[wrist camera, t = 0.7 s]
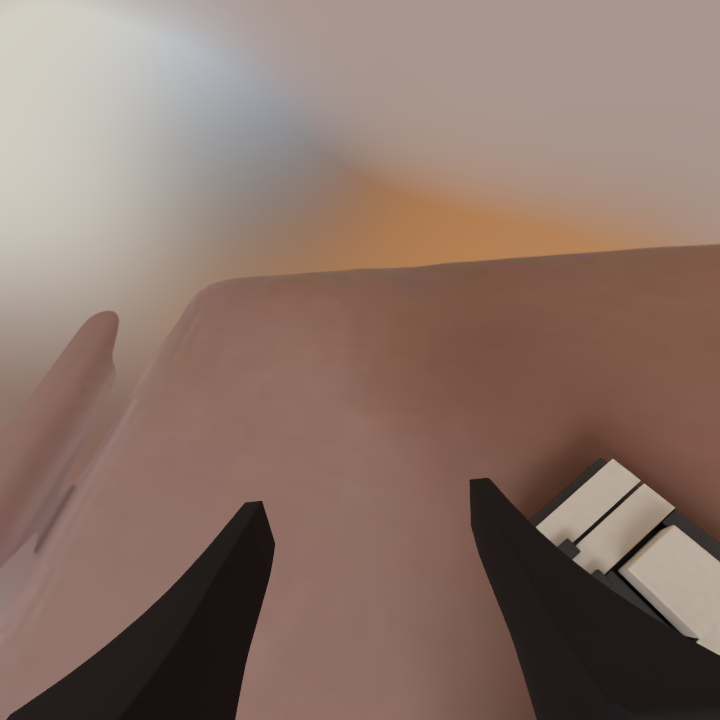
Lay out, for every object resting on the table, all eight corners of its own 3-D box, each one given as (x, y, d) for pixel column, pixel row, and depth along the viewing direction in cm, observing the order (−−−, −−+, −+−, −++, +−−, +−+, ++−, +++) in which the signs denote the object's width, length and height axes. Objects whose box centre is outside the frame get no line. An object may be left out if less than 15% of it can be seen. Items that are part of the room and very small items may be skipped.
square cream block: (660, 529, 21) (674, 523, 20) (731, 589, 19) (753, 588, 17) (616, 570, 21) (626, 568, 19) (684, 636, 19) (701, 640, 17)
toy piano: (596, 463, 26) (606, 449, 24) (833, 657, 18) (884, 666, 16) (493, 554, 25) (493, 549, 23) (698, 802, 17) (731, 835, 15)
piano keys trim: (612, 459, 23) (615, 455, 23) (861, 656, 16) (875, 658, 16) (507, 552, 22) (508, 550, 22) (724, 805, 15) (734, 813, 15)
